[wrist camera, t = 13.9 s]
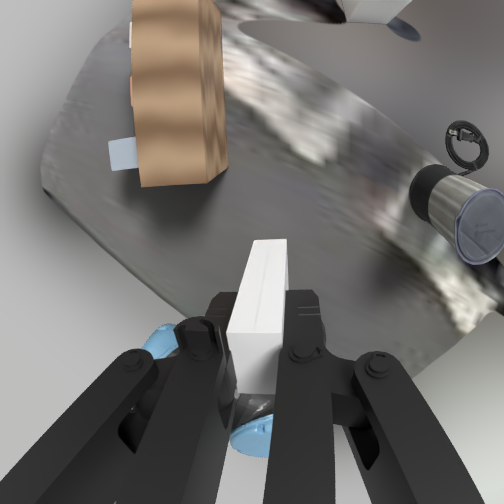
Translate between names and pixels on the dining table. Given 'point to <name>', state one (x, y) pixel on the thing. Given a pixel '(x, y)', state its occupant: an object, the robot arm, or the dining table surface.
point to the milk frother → (461, 201)
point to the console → (178, 91)
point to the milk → (372, 10)
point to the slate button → (123, 154)
